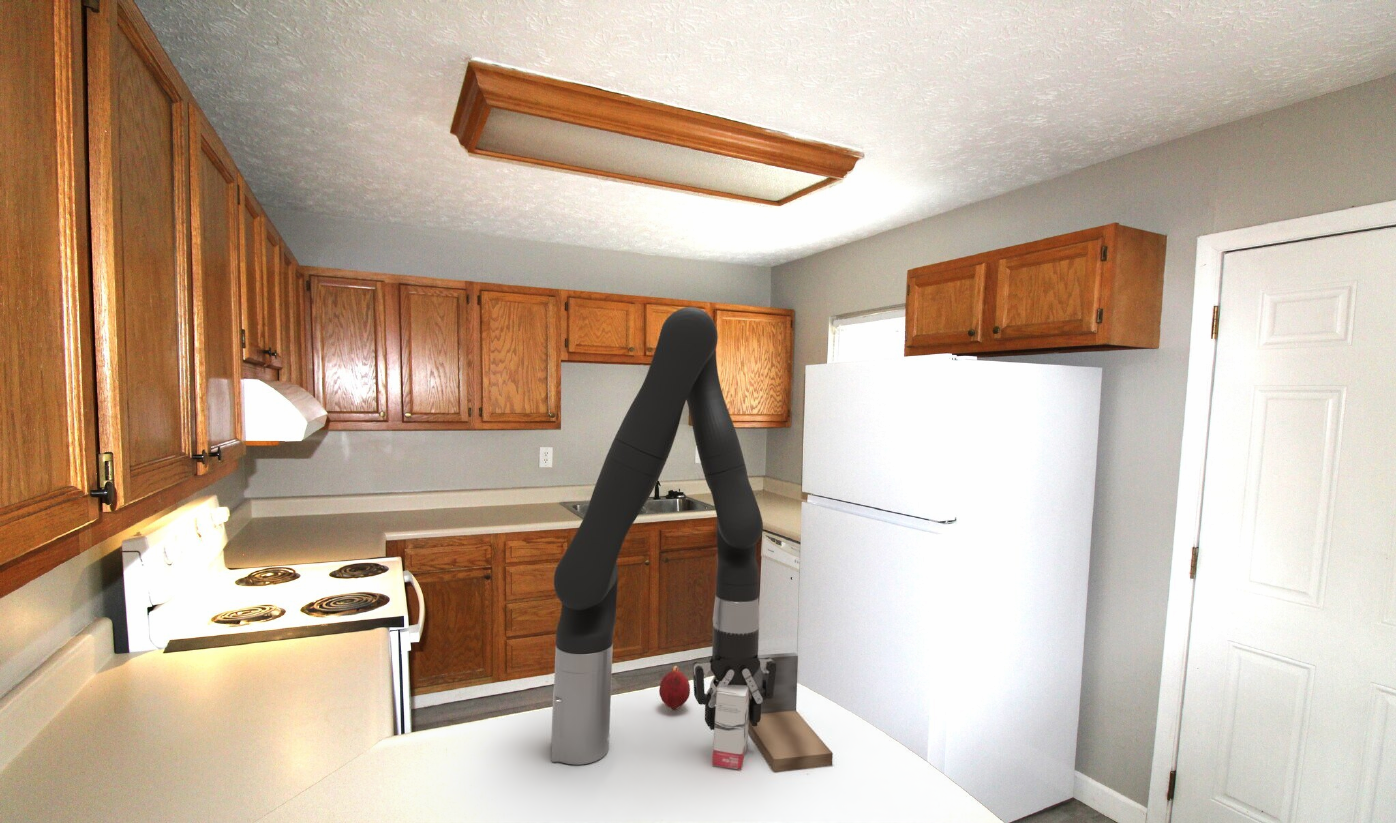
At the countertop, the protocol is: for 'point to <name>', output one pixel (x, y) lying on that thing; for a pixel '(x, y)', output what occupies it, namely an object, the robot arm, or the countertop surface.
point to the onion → (674, 689)
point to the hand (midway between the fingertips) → (732, 725)
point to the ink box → (731, 726)
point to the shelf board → (786, 723)
